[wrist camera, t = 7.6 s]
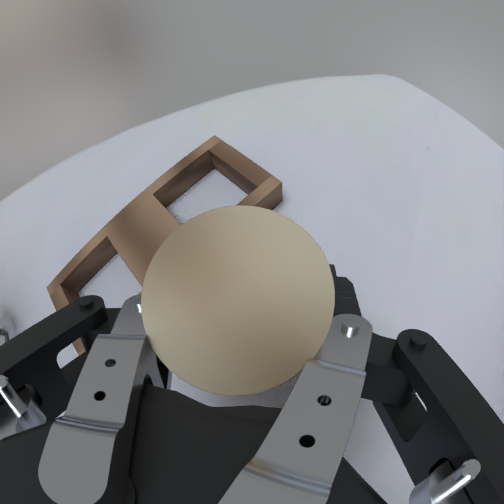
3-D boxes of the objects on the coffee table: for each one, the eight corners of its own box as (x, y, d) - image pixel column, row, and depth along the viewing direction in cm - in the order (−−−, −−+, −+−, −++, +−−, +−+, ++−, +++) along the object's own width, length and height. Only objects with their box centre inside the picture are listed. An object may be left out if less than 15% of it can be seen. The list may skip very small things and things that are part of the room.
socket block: (219, 153, 26) (214, 135, 23) (282, 200, 23) (281, 182, 21) (63, 295, 22) (46, 287, 19) (102, 366, 19) (84, 364, 17)
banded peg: (265, 283, 16) (237, 176, 7) (320, 335, 15) (374, 289, 6) (210, 335, 16) (111, 291, 6) (263, 391, 14) (228, 435, 5)
